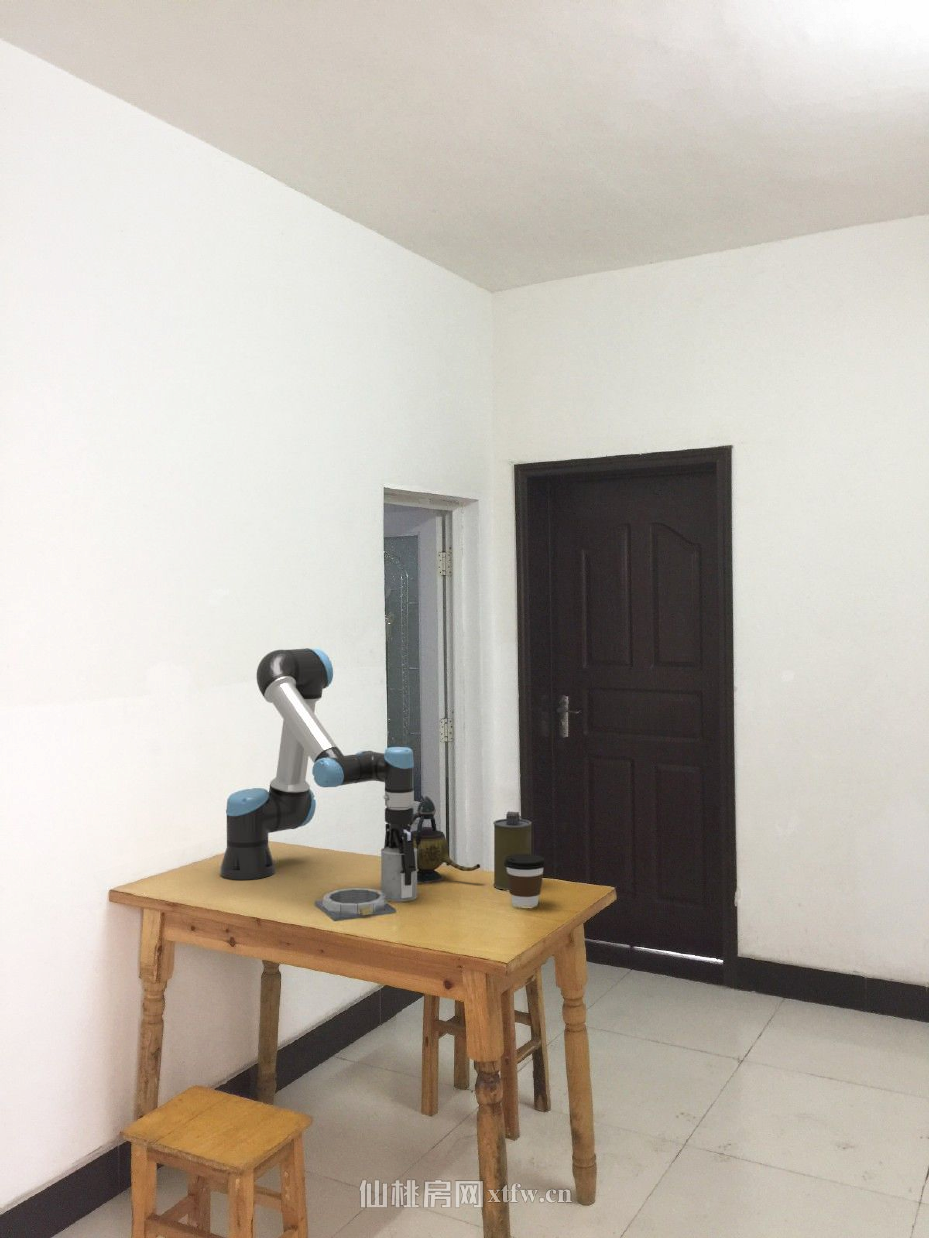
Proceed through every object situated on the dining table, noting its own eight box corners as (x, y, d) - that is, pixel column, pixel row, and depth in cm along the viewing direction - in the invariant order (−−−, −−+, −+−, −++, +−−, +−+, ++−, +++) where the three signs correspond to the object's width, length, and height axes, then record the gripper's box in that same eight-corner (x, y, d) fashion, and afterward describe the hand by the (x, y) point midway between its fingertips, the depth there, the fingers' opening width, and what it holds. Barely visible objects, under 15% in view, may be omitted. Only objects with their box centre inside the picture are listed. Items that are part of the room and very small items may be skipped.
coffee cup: (517, 913, 260) (517, 865, 260) (495, 902, 270) (495, 856, 270) (554, 907, 265) (554, 860, 265) (532, 897, 275) (532, 851, 275)
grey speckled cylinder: (422, 893, 278) (422, 847, 278) (409, 903, 269) (409, 855, 269) (389, 890, 281) (389, 844, 281) (375, 899, 272) (375, 852, 272)
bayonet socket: (313, 902, 270) (313, 891, 270) (372, 895, 276) (372, 884, 276) (335, 921, 253) (335, 909, 253) (397, 913, 260) (397, 901, 260)
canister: (528, 892, 280) (528, 817, 280) (490, 889, 282) (490, 815, 282) (534, 881, 291) (534, 809, 290) (497, 879, 293) (497, 807, 292)
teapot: (407, 870, 303) (407, 790, 302) (487, 879, 293) (487, 796, 292) (388, 880, 292) (387, 797, 291) (470, 890, 282) (470, 803, 281)
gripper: (370, 801, 284) (371, 883, 284) (401, 815, 264) (401, 904, 264) (396, 798, 287) (396, 880, 287) (429, 813, 267) (429, 901, 267)
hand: (399, 892), depth 275 cm, fingers closed on grey speckled cylinder, 9 cm apart
